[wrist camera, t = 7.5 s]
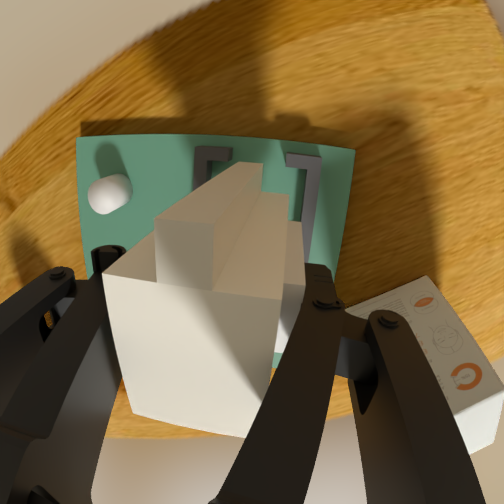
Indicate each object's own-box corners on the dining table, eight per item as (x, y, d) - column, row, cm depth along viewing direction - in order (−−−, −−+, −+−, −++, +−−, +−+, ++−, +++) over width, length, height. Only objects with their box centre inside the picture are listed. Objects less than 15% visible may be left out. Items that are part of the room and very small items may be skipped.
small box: (357, 363, 26) (377, 490, 14) (335, 310, 24) (357, 450, 12) (438, 330, 24) (495, 444, 12) (428, 272, 22) (508, 387, 10)
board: (104, 327, 28) (86, 348, 25) (85, 136, 21) (56, 140, 18) (311, 362, 26) (312, 391, 23) (351, 148, 19) (363, 153, 16)
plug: (207, 275, 18) (133, 413, 8) (211, 159, 15) (95, 213, 6) (278, 284, 17) (259, 439, 8) (292, 166, 15) (290, 232, 6)
